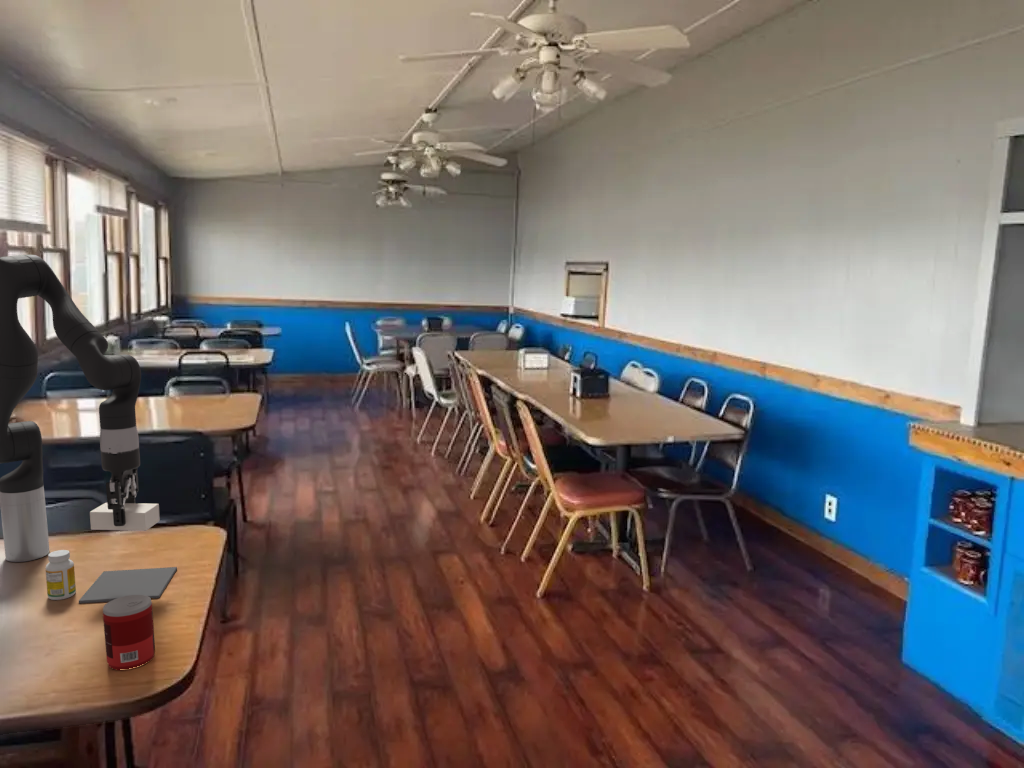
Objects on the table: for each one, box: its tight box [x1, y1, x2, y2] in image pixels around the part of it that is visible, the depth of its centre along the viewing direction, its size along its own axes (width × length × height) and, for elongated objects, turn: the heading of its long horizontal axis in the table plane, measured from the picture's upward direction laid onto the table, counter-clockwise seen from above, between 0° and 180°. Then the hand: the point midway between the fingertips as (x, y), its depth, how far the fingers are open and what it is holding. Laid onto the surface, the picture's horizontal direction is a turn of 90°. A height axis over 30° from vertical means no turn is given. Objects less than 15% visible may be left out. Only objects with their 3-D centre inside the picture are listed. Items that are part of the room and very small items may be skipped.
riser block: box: [89, 502, 161, 532], centre depth 170 cm, size 6×12×4 cm, turn 89°
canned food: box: [102, 595, 156, 671], centre depth 140 cm, size 8×8×11 cm
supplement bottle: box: [44, 549, 77, 601], centre depth 167 cm, size 5×5×10 cm
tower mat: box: [78, 566, 178, 604], centre depth 173 cm, size 16×16×1 cm
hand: (125, 519), depth 170 cm, fingers closed on riser block, 7 cm apart
